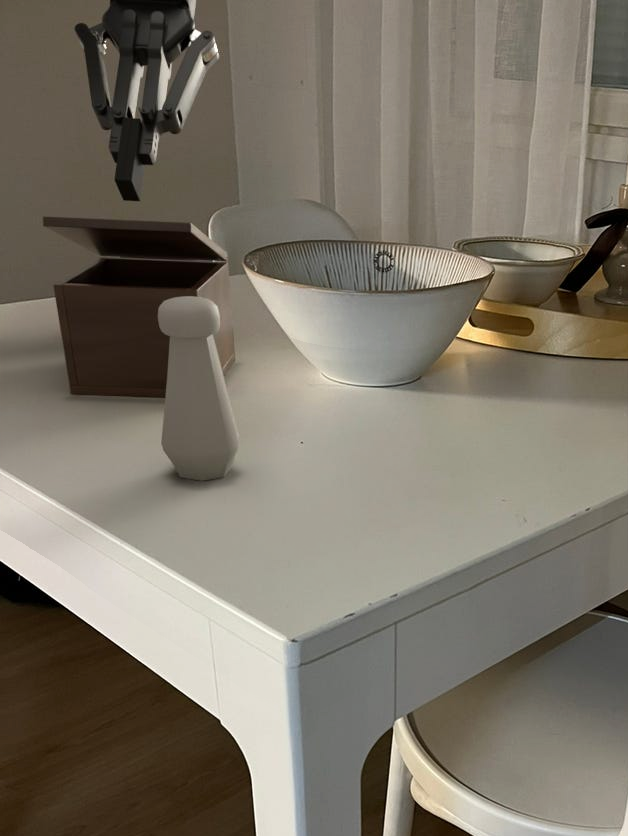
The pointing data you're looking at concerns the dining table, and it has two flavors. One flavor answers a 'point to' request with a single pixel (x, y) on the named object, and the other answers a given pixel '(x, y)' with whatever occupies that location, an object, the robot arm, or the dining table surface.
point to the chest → (133, 321)
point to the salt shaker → (196, 392)
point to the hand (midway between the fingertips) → (127, 190)
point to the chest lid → (137, 238)
